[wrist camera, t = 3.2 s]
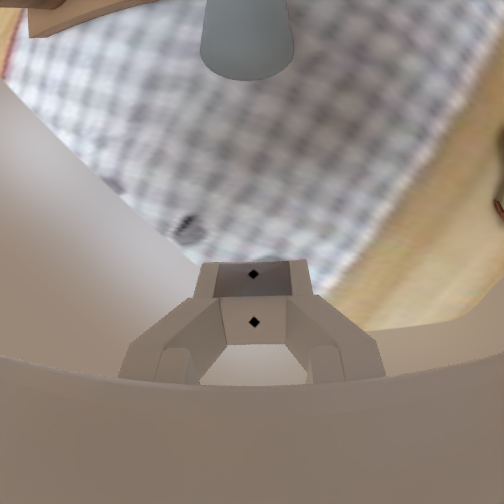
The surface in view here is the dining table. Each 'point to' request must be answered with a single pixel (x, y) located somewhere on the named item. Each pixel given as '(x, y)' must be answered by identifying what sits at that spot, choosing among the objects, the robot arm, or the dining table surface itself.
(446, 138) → the dining table surface
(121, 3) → the stool seat
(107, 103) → the dining table surface
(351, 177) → the dining table surface
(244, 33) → the hinged leg
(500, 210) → the pottery mug
